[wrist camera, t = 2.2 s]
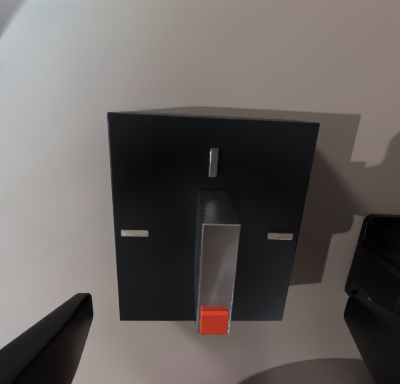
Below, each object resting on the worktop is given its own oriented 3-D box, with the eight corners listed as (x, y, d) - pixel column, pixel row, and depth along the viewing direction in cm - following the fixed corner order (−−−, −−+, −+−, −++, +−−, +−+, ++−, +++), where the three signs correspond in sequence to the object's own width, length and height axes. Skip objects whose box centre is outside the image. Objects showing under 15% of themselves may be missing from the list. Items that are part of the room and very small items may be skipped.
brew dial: (197, 189, 13) (202, 227, 9) (225, 190, 13) (243, 227, 9) (193, 273, 14) (196, 338, 10) (218, 273, 14) (230, 338, 10)
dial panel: (294, 120, 15) (322, 123, 12) (267, 288, 19) (283, 323, 16) (122, 111, 14) (105, 112, 11) (130, 287, 18) (119, 323, 15)
